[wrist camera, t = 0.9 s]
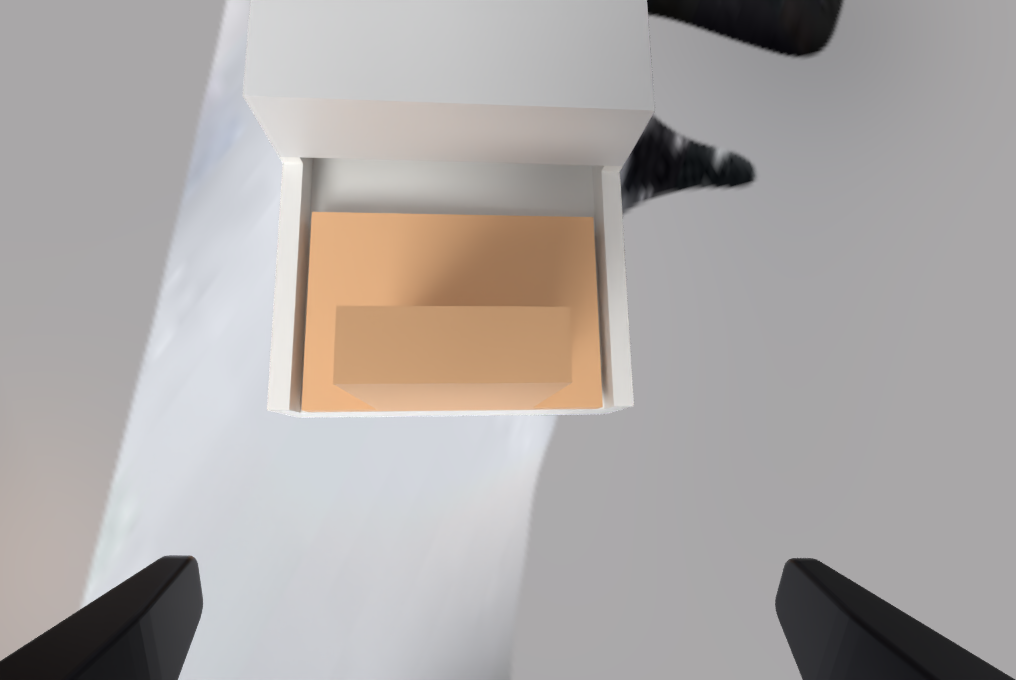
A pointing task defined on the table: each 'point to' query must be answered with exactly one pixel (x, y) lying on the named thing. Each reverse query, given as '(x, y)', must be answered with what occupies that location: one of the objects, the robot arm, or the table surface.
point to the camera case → (449, 136)
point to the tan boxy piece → (451, 313)
